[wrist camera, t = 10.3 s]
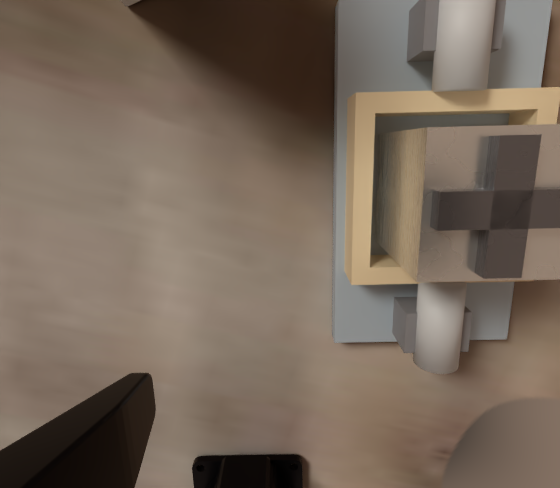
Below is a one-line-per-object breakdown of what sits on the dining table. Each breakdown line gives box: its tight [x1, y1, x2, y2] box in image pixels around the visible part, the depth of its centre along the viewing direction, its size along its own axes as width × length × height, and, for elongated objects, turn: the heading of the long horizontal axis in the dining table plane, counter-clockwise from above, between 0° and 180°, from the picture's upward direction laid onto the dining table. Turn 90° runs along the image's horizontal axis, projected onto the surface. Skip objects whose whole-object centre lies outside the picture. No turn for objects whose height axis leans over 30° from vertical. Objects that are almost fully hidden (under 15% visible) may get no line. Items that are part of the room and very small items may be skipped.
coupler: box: [375, 124, 560, 282], centre depth 15 cm, size 5×5×7 cm
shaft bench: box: [332, 0, 560, 374], centre depth 17 cm, size 16×9×4 cm, turn 1°
